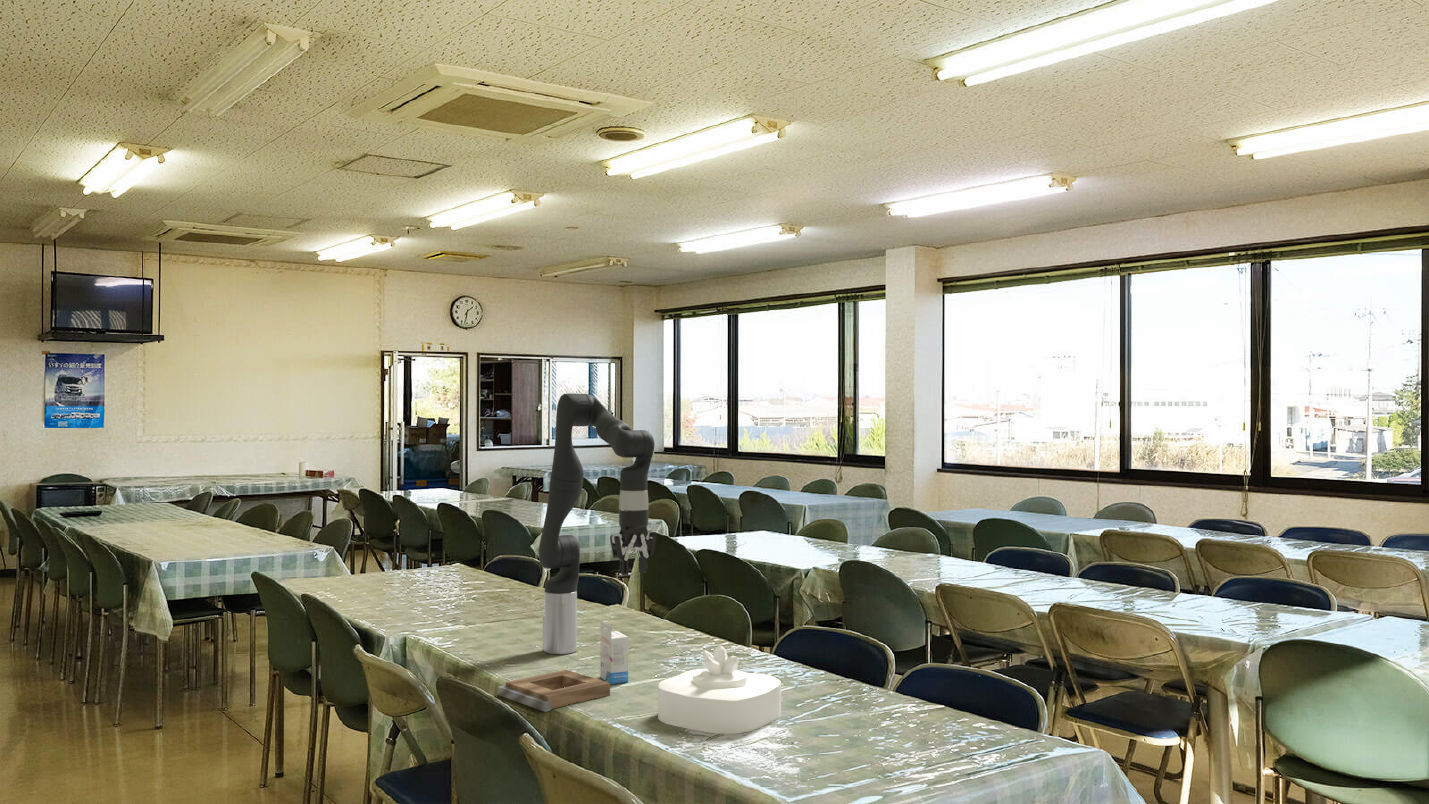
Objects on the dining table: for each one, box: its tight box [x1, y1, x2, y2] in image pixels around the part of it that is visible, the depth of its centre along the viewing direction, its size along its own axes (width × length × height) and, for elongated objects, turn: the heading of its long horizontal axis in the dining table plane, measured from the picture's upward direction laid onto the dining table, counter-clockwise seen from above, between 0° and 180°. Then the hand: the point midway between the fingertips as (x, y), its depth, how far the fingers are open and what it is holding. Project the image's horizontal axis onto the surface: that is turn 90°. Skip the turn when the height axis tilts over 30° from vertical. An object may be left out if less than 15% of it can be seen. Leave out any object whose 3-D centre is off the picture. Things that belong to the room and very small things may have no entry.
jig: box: [497, 669, 611, 713], centre depth 253 cm, size 20×20×3 cm
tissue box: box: [657, 644, 782, 735], centre depth 237 cm, size 25×25×16 cm
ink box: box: [599, 620, 629, 685], centre depth 268 cm, size 8×5×15 cm, turn 26°
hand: (633, 573), depth 268 cm, fingers open, 5 cm apart
